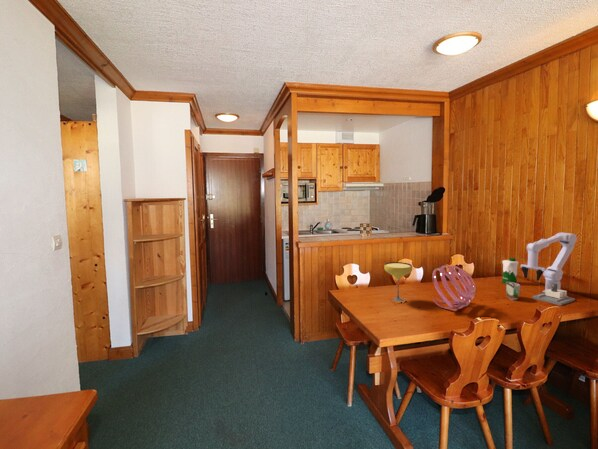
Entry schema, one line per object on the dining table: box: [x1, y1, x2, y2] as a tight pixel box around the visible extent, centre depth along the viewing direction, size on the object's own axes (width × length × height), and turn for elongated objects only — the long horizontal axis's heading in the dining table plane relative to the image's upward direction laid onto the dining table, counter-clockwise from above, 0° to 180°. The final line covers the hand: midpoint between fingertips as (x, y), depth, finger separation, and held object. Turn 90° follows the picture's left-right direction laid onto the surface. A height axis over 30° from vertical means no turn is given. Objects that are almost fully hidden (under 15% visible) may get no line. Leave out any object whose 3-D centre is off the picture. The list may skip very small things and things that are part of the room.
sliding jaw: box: [544, 283, 563, 299], centre depth 207 cm, size 4×8×9 cm, turn 27°
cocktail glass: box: [383, 261, 413, 301], centre depth 211 cm, size 18×18×25 cm
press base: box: [532, 289, 576, 306], centre depth 207 cm, size 18×16×6 cm
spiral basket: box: [431, 264, 476, 311], centre depth 198 cm, size 28×28×27 cm
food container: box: [505, 282, 521, 302], centre depth 211 cm, size 12×6×10 cm, turn 168°
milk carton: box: [501, 257, 519, 284], centre depth 245 cm, size 9×9×20 cm
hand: (531, 279), depth 220 cm, fingers open, 7 cm apart
